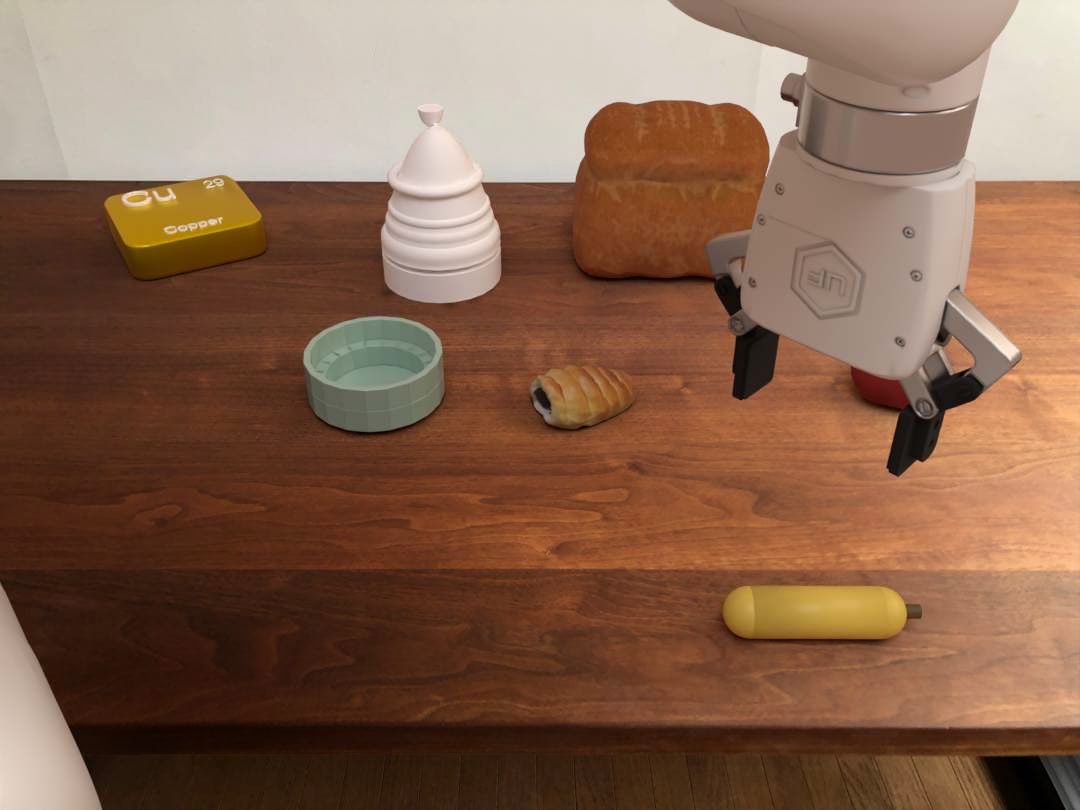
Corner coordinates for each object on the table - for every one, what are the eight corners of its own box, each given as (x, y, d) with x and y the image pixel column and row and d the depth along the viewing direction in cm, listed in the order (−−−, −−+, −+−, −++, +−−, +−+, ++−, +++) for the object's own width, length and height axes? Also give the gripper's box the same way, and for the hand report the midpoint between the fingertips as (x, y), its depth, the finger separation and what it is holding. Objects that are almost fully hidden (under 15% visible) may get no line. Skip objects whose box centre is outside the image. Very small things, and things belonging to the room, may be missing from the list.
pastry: (614, 376, 100) (616, 341, 97) (649, 414, 95) (652, 379, 92) (523, 399, 96) (523, 364, 94) (555, 440, 92) (555, 405, 89)
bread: (571, 219, 127) (574, 80, 118) (748, 220, 127) (767, 82, 118) (573, 289, 113) (577, 138, 103) (773, 291, 113) (796, 141, 103)
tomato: (833, 400, 97) (847, 333, 92) (868, 362, 102) (883, 297, 98) (918, 432, 93) (936, 364, 89) (950, 391, 98) (969, 325, 94)
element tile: (136, 285, 114) (126, 244, 111) (108, 230, 124) (99, 192, 121) (272, 254, 120) (266, 215, 117) (234, 204, 130) (228, 168, 127)
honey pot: (375, 255, 120) (360, 99, 109) (485, 241, 122) (481, 88, 112) (394, 310, 109) (380, 144, 99) (514, 294, 112) (513, 131, 102)
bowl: (397, 452, 90) (392, 404, 87) (282, 413, 94) (274, 367, 92) (468, 381, 99) (467, 335, 96) (361, 349, 103) (356, 304, 100)
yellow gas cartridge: (724, 649, 72) (729, 607, 70) (716, 615, 75) (721, 574, 73) (923, 650, 72) (933, 608, 70) (907, 616, 75) (916, 575, 74)
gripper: (681, 99, 51) (659, 390, 61) (1035, 206, 41) (939, 532, 51) (770, 62, 55) (736, 340, 65) (1109, 151, 45) (1007, 461, 55)
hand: (825, 424), depth 58 cm, fingers open, 9 cm apart
